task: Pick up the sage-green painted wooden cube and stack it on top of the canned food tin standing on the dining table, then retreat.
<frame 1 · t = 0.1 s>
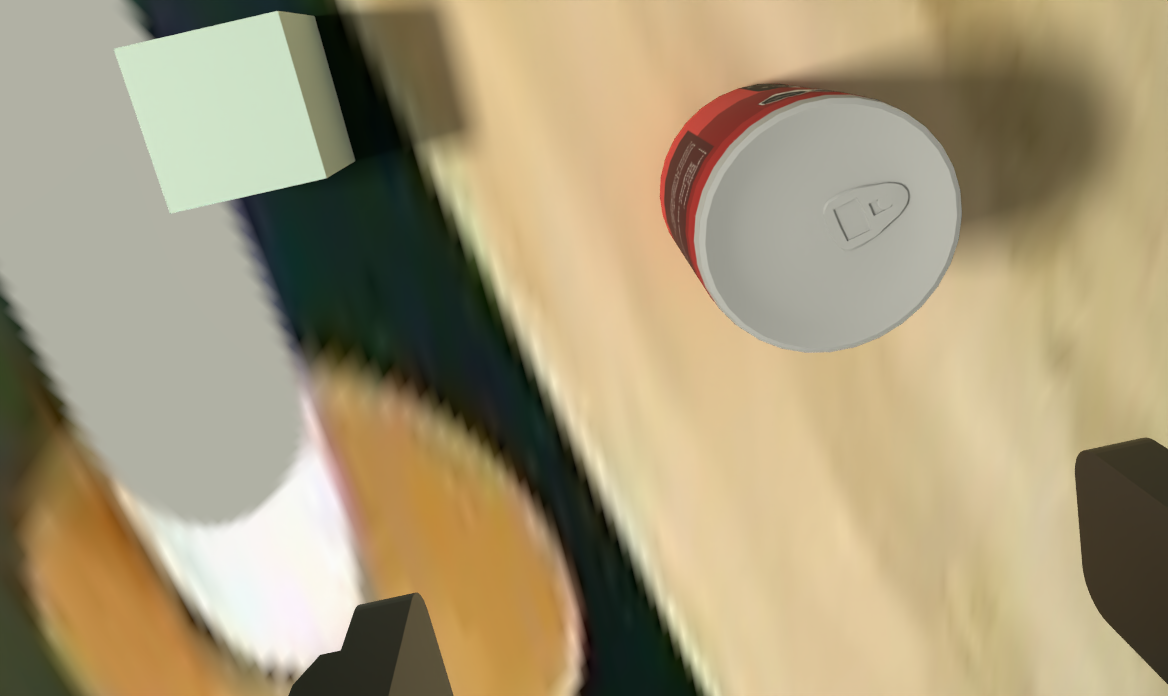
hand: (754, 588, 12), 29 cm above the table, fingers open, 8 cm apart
canned food: (754, 181, 40), on the table
sage block: (266, 105, 38), on the table
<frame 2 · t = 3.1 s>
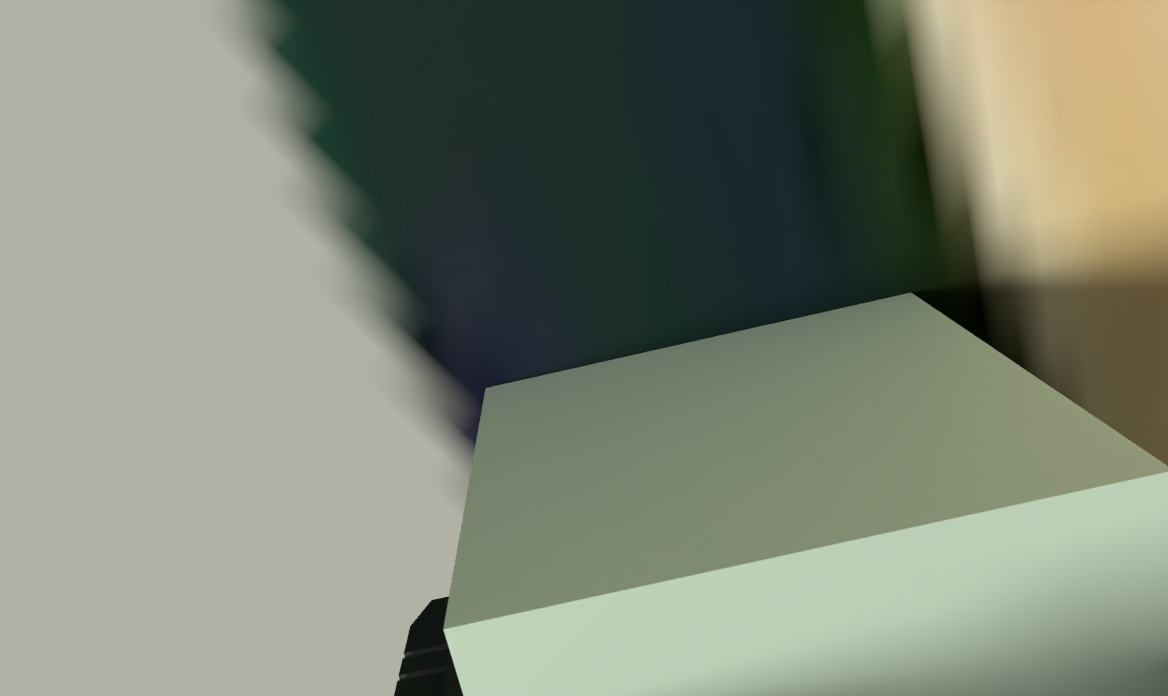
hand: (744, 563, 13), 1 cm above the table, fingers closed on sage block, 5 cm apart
sage block: (734, 531, 13), on the table, touching gripper
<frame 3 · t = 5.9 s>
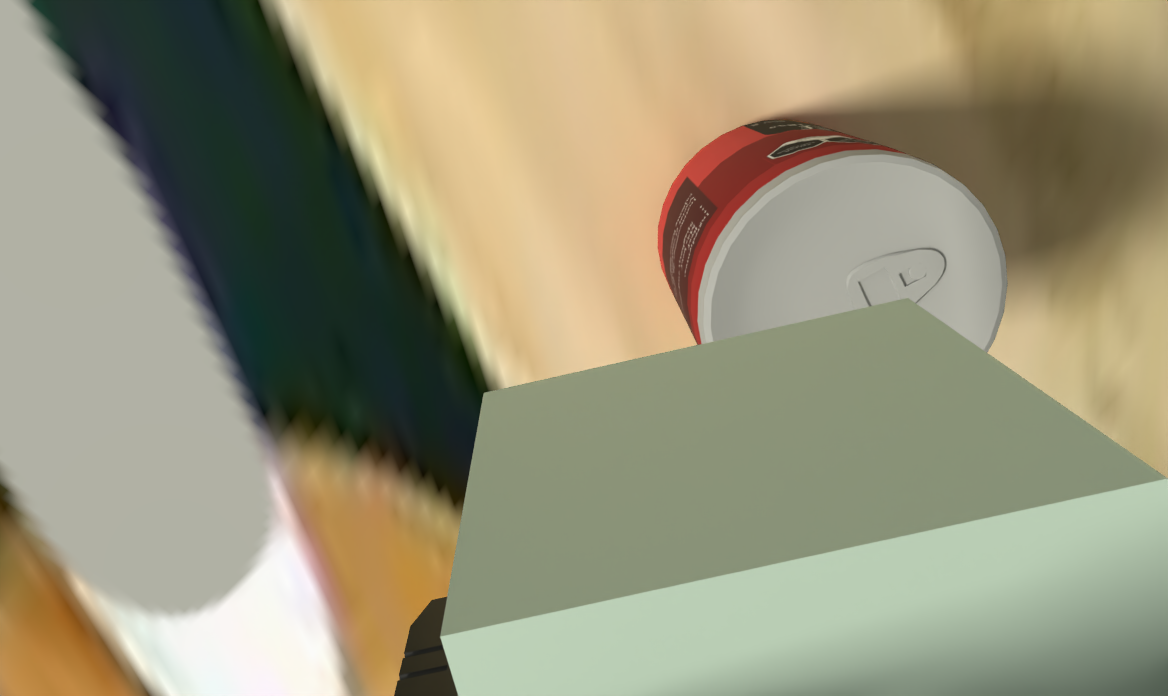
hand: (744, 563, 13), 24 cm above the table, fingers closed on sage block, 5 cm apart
canned food: (763, 225, 36), on the table
sage block: (732, 535, 13), point 23 cm above the table, touching gripper
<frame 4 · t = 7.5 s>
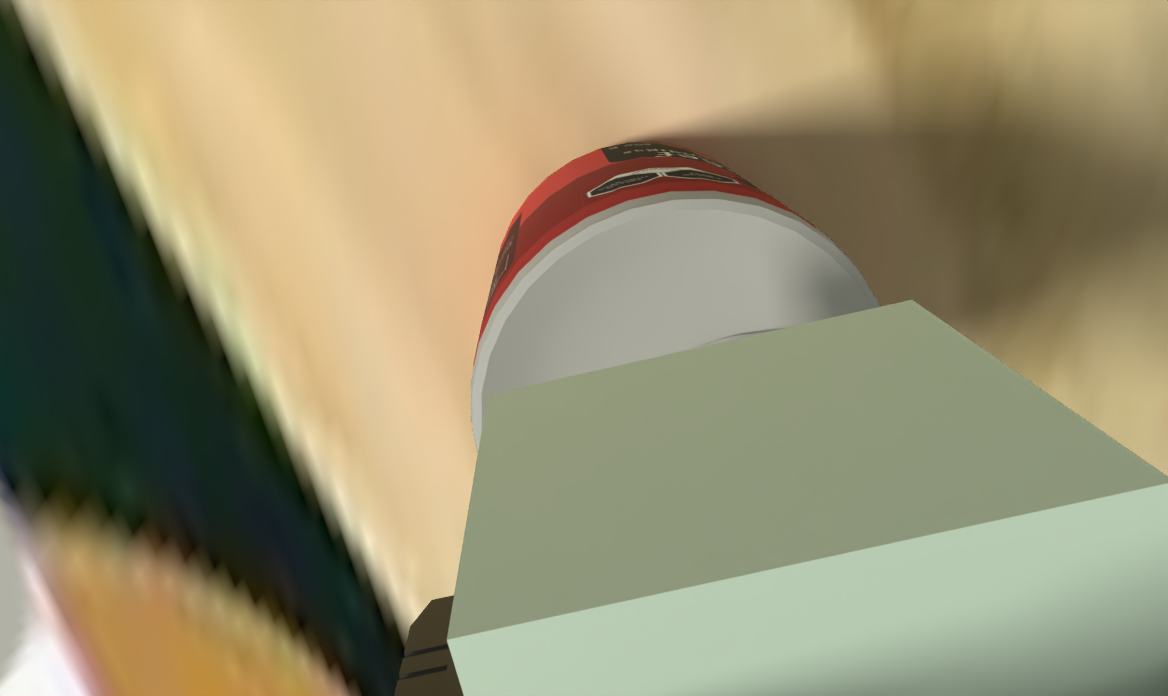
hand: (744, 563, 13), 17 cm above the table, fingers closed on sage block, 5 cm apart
canned food: (633, 273, 29), on the table
sage block: (736, 537, 13), point 16 cm above the table, touching gripper
when the fingers open (13 cm above the table, at t = 8.7 s): sage block drops 1 cm, resting on canned food.
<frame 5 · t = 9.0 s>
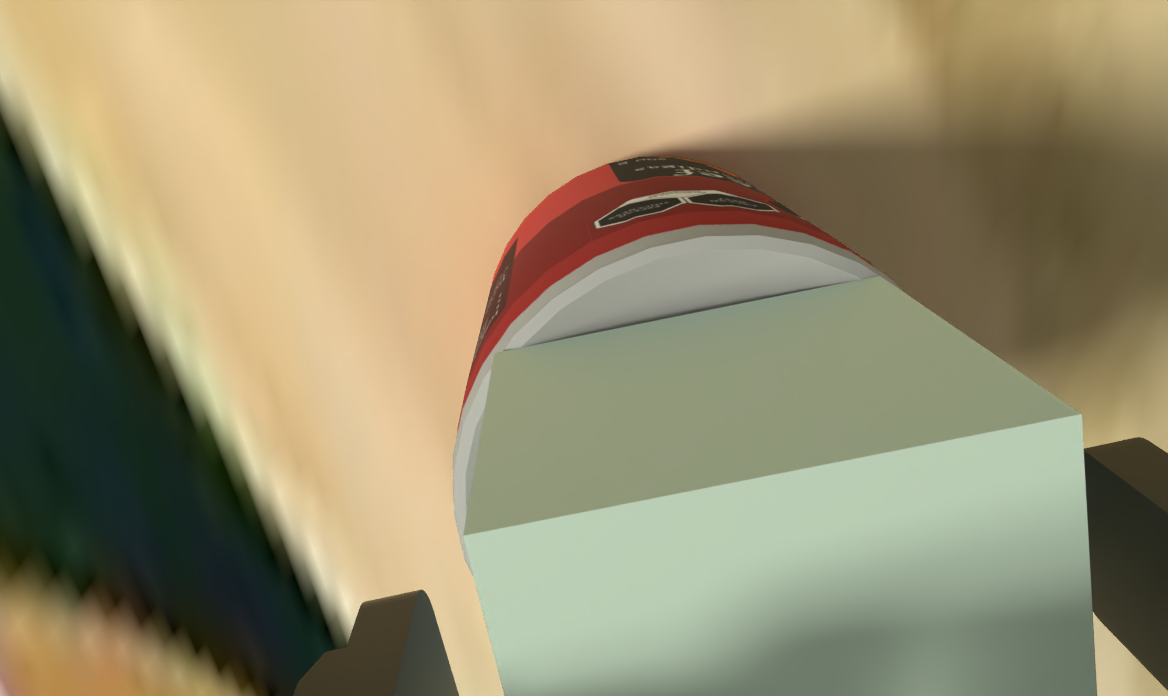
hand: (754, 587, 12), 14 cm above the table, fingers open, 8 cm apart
canned food: (644, 303, 25), on the table, touching sage block
sage block: (716, 490, 15), point 11 cm above the table, touching canned food
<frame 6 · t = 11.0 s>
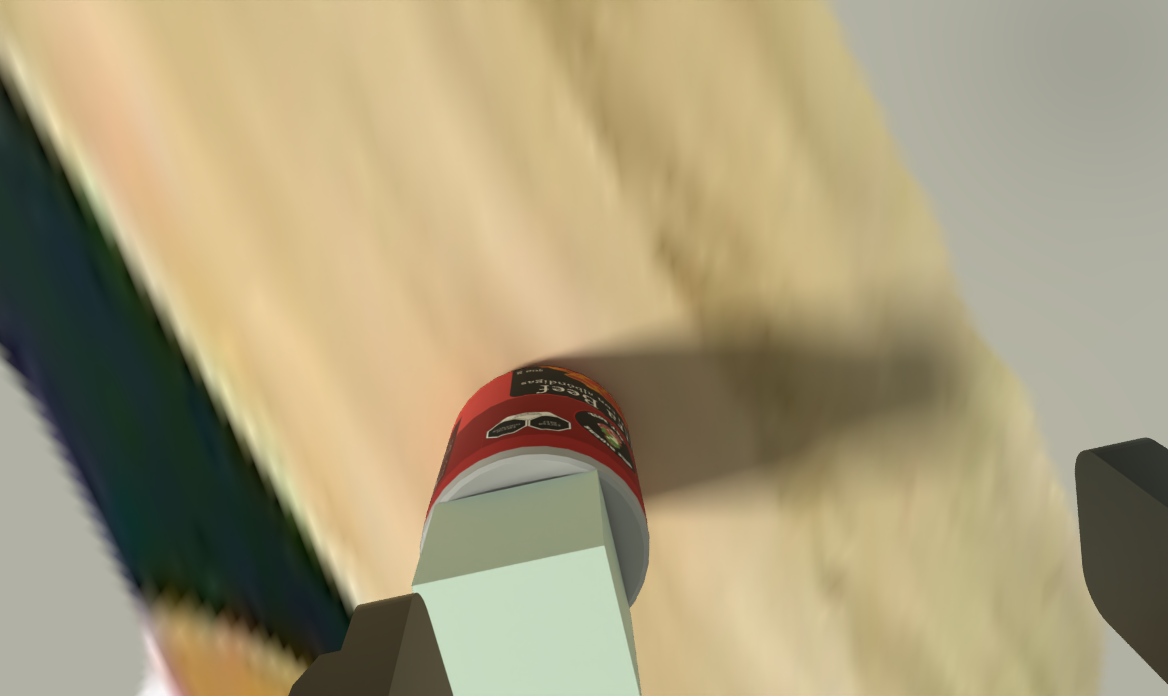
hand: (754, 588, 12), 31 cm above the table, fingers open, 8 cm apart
canned food: (540, 441, 45), on the table, touching sage block
sage block: (534, 560, 34), point 11 cm above the table, touching canned food
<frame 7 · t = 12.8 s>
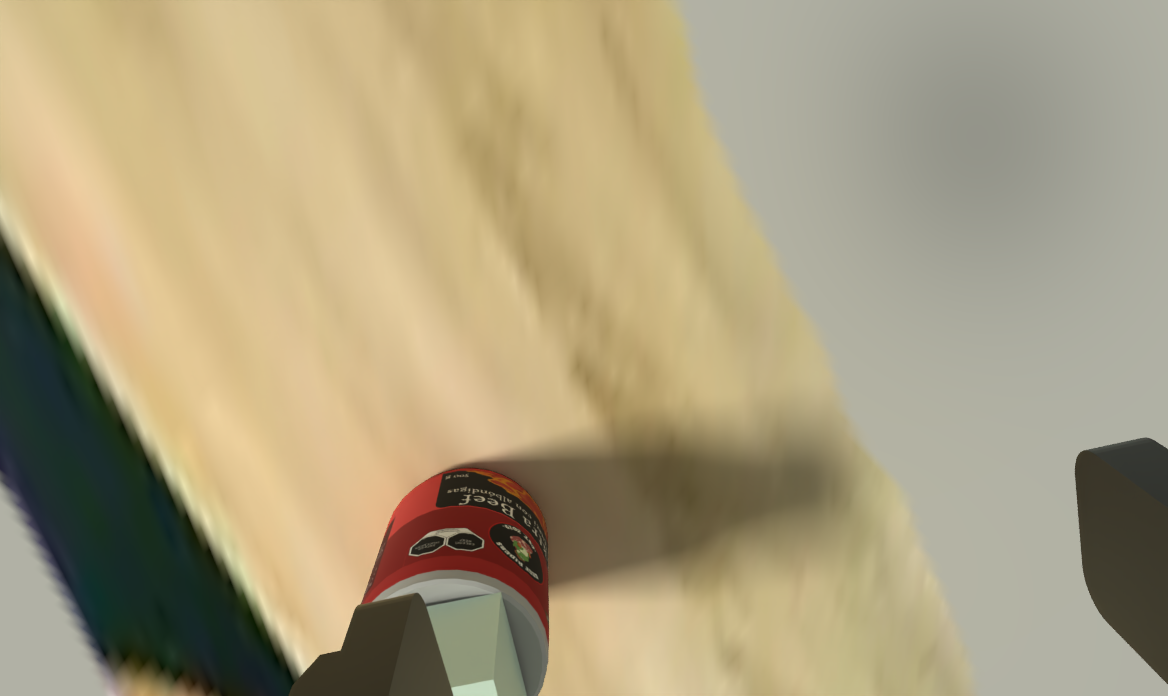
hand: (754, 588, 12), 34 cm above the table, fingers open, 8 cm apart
canned food: (468, 532, 50), on the table, touching sage block
sage block: (447, 666, 39), point 11 cm above the table, touching canned food
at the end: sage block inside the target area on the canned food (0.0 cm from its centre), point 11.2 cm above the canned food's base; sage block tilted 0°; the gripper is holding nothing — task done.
